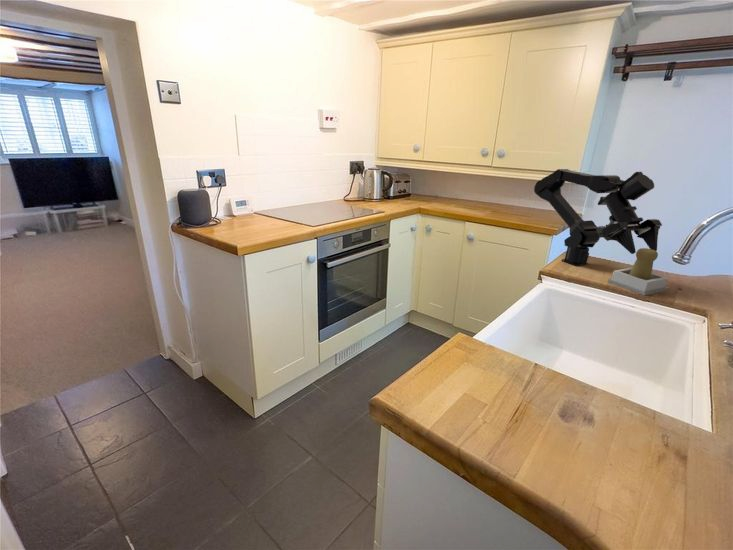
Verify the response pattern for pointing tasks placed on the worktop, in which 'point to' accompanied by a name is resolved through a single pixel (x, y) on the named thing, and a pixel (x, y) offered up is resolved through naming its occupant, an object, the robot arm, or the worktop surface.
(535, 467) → the worktop surface
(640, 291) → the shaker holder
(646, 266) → the cork
